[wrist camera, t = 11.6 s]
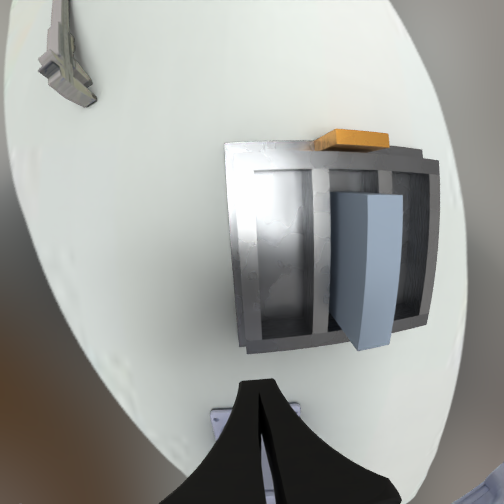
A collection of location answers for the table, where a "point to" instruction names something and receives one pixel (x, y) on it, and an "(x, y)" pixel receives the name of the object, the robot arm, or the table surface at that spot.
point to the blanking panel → (365, 264)
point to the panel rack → (320, 232)
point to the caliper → (64, 59)
